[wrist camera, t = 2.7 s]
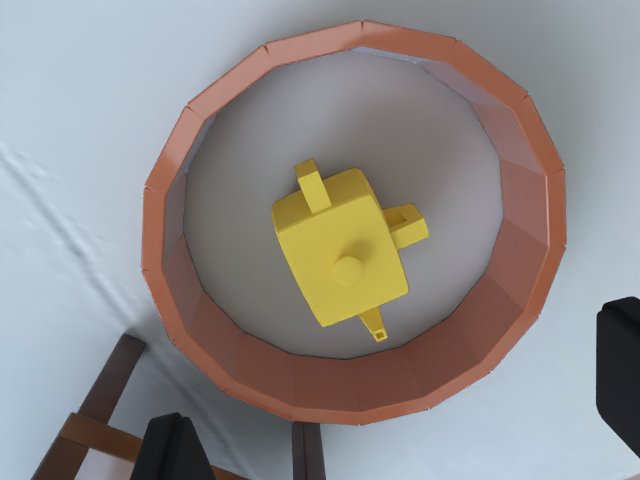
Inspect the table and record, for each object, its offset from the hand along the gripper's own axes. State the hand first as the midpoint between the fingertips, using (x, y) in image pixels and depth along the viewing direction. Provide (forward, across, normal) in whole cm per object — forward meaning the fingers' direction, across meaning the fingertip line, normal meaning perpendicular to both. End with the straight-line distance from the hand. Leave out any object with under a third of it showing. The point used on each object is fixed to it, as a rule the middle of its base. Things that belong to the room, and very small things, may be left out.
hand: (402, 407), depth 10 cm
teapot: (+12, -1, 0) cm, 12 cm away
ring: (+12, -1, 0) cm, 12 cm away
